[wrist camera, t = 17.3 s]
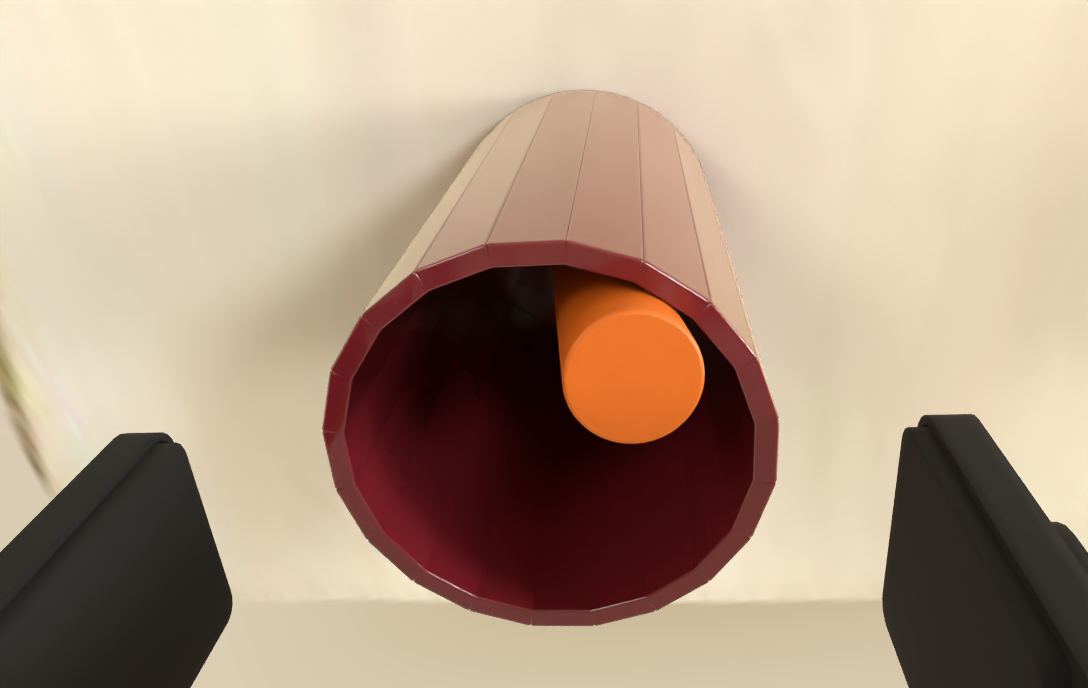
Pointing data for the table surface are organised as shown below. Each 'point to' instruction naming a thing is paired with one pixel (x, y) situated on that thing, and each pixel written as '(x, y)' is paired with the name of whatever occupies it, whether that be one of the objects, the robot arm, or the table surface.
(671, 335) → the solid orange cylinder
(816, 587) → the table surface
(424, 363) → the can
